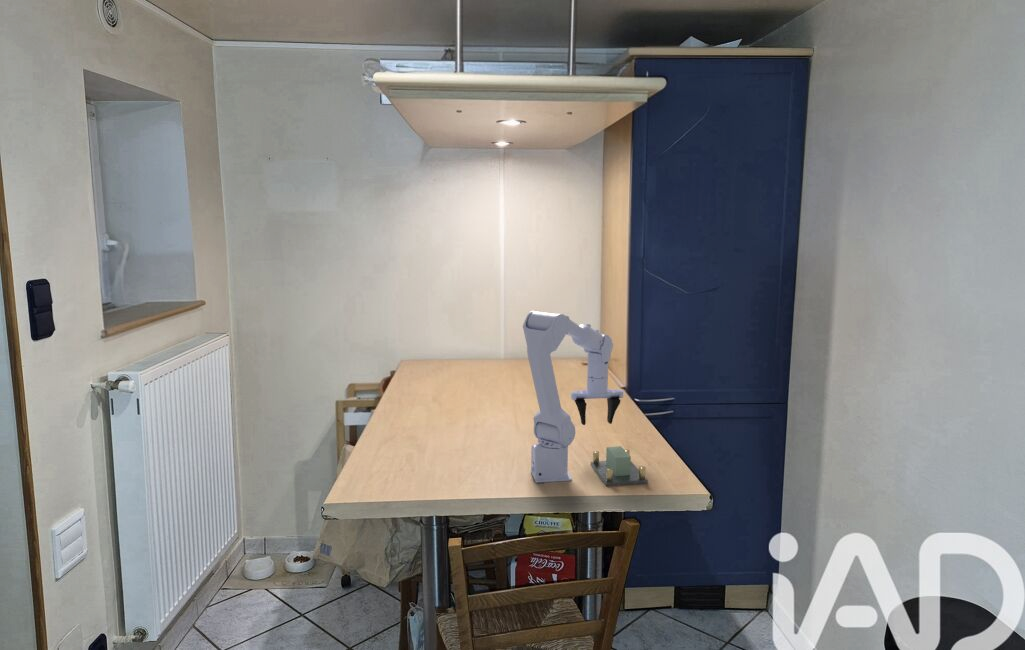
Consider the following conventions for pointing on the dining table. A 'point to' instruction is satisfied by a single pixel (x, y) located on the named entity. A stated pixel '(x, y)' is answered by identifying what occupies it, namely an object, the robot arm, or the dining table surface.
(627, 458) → the board block
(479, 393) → the dining table surface
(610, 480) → the plate
